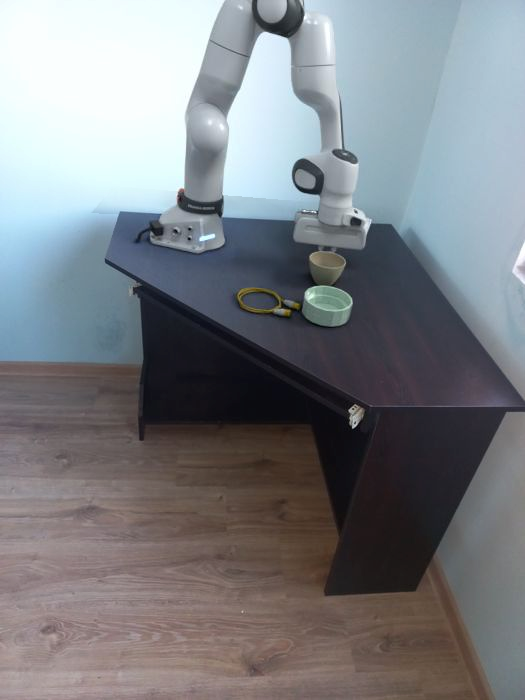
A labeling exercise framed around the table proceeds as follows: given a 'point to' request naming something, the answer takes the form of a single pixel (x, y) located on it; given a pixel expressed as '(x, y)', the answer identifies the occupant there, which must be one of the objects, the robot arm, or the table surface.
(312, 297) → the bowl
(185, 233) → the robot arm
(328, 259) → the flower pot
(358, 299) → the table surface
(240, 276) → the table surface
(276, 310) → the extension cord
